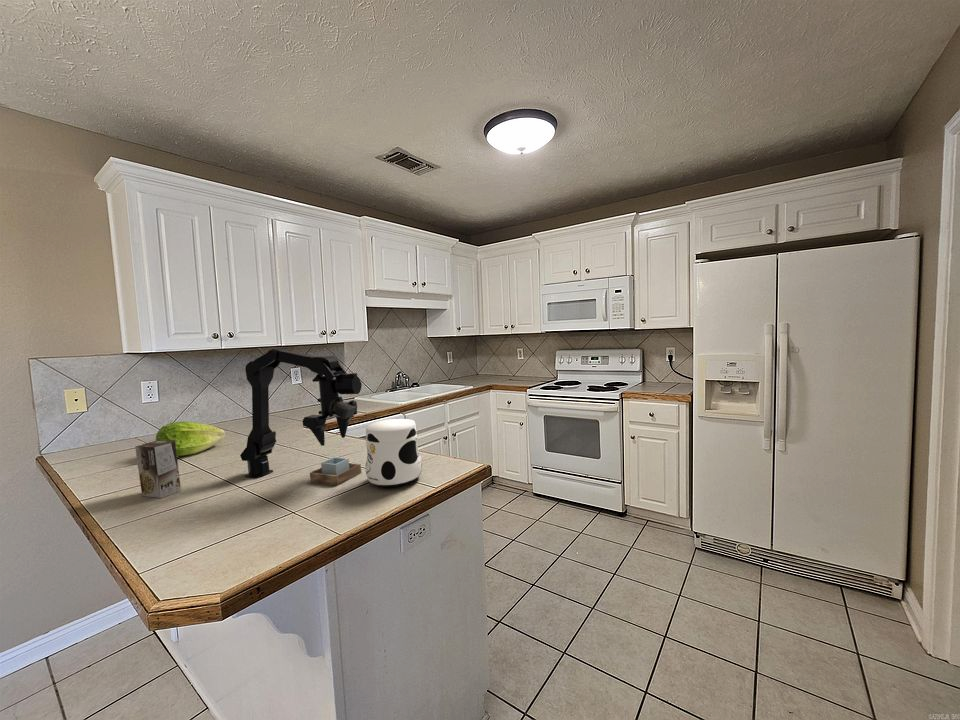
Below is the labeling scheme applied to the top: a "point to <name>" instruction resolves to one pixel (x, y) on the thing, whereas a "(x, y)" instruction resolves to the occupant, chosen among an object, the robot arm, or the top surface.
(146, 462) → the coffee box
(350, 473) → the brown wooden tray
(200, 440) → the lettuce
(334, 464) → the small crate
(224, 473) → the top surface
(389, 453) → the milk container
